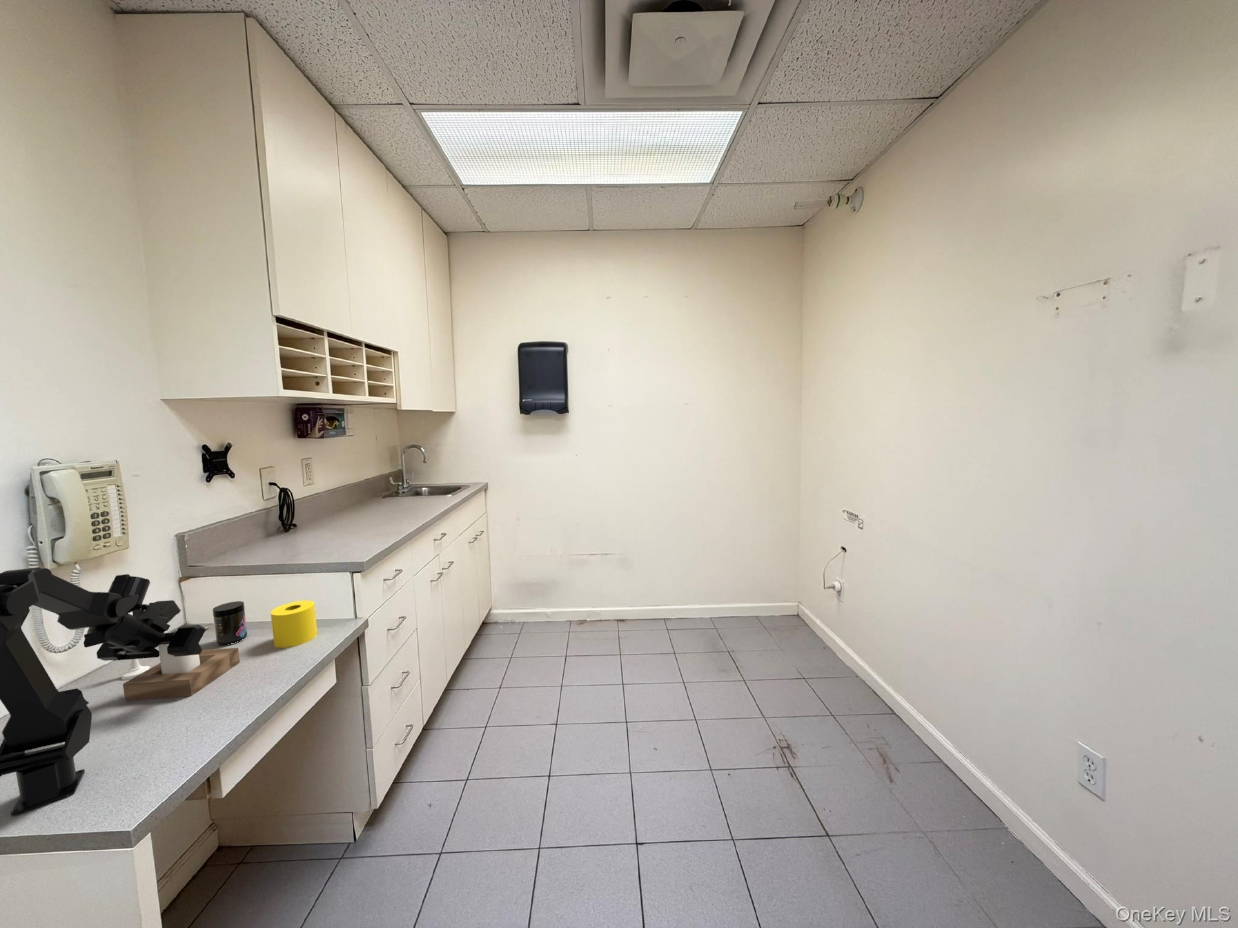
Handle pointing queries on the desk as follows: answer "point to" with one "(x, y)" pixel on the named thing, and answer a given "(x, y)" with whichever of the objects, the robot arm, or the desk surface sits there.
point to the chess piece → (134, 670)
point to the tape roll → (293, 624)
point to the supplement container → (230, 622)
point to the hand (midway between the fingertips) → (179, 653)
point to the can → (176, 661)
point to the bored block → (181, 677)
